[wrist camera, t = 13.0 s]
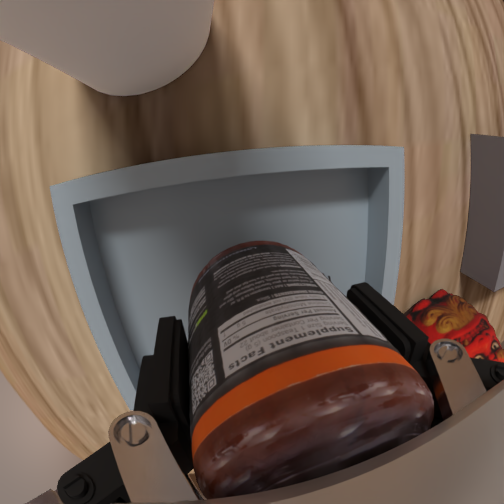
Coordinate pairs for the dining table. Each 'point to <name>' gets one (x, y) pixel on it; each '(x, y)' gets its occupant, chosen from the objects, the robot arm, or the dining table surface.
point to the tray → (221, 231)
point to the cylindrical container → (111, 39)
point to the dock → (486, 213)
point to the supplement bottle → (289, 376)
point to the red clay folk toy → (456, 325)
